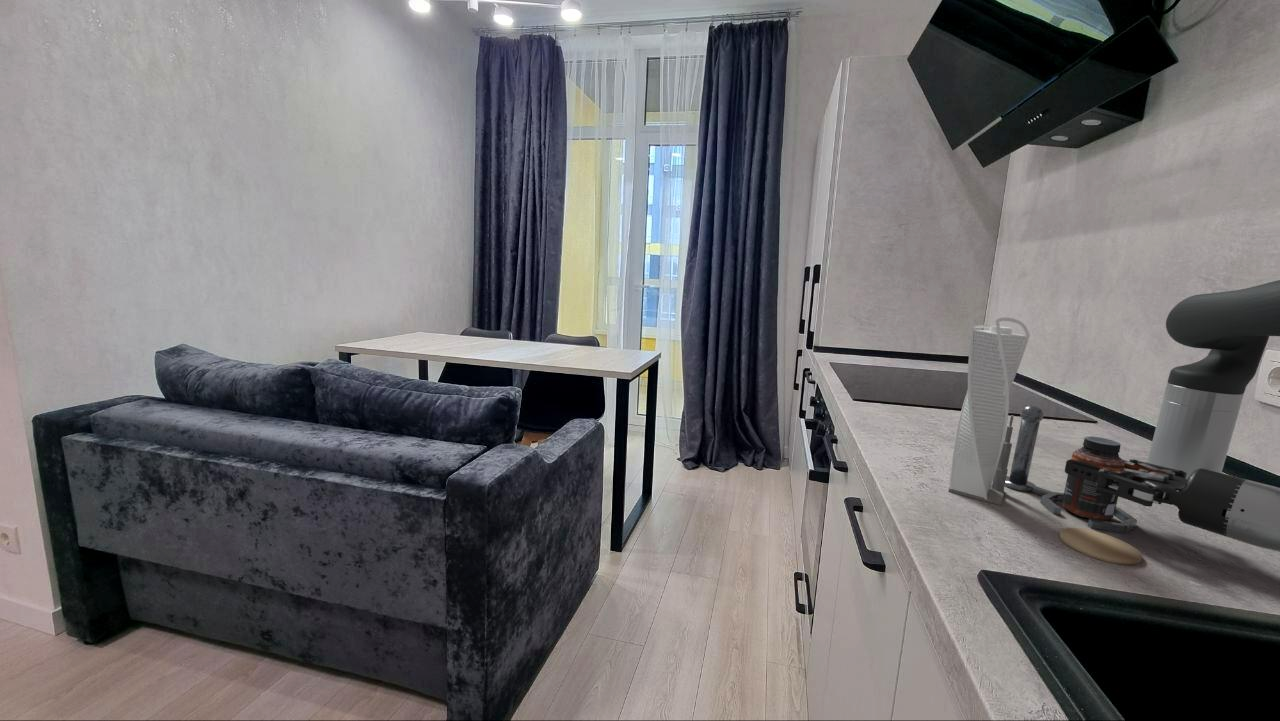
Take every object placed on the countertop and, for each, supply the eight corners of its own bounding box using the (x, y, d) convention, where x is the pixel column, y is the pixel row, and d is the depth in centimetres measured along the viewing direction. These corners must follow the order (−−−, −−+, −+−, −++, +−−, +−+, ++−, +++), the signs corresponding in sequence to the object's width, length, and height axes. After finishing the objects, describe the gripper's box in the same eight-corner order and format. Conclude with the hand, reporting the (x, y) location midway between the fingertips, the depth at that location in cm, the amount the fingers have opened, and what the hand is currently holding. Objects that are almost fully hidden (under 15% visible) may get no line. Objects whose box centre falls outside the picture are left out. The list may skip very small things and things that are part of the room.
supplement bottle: (1123, 525, 74) (1141, 449, 72) (1075, 519, 75) (1092, 444, 73) (1096, 507, 80) (1112, 436, 78) (1052, 501, 81) (1067, 431, 79)
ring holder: (1009, 477, 91) (1025, 400, 88) (1143, 522, 76) (1167, 431, 74) (979, 486, 86) (995, 405, 83) (1117, 537, 71) (1141, 440, 68)
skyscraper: (1000, 508, 78) (1039, 321, 73) (939, 491, 82) (971, 314, 77) (1003, 491, 84) (1039, 318, 79) (946, 476, 89) (976, 312, 84)
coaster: (1074, 527, 73) (1075, 523, 73) (1150, 555, 67) (1151, 551, 66) (1048, 539, 69) (1049, 535, 69) (1127, 571, 62) (1128, 566, 62)
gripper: (1263, 471, 68) (1100, 432, 82) (1234, 491, 60) (1060, 444, 74) (1247, 525, 69) (1089, 477, 83) (1217, 551, 61) (1049, 494, 75)
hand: (1076, 462), depth 78 cm, fingers closed on supplement bottle, 6 cm apart
